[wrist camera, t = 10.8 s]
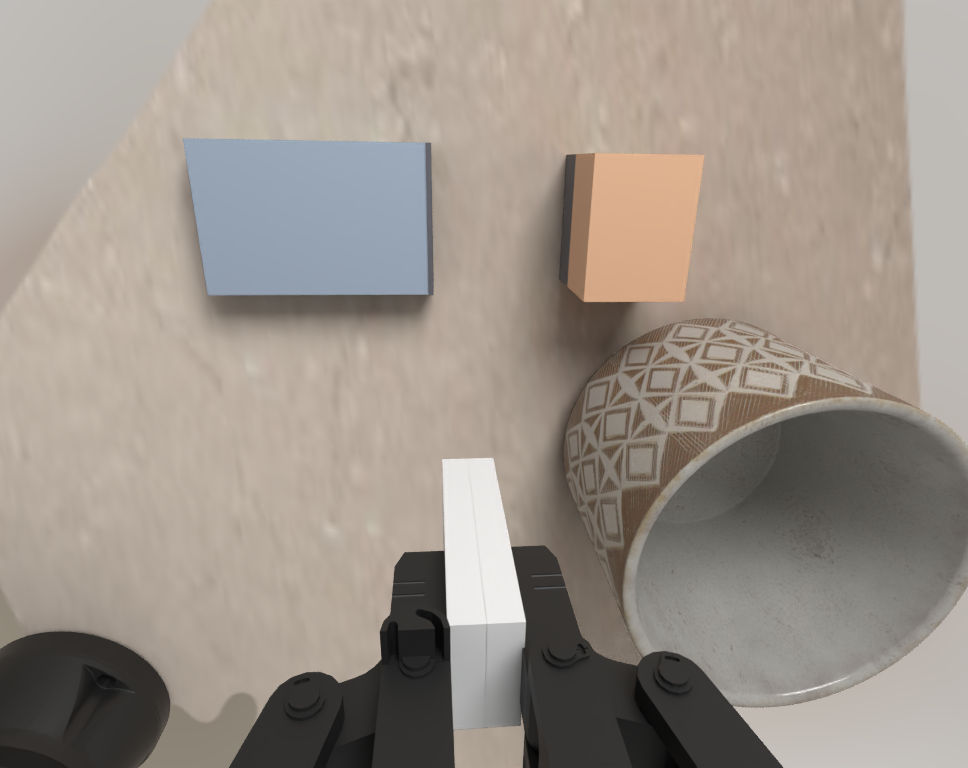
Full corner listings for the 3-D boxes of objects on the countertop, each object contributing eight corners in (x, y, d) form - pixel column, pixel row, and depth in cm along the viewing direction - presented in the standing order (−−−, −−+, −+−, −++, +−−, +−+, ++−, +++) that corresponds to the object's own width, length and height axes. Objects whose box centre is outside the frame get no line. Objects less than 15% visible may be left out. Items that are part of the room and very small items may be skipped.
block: (559, 279, 40) (583, 301, 33) (566, 154, 37) (595, 153, 31) (643, 279, 40) (684, 301, 34) (657, 156, 38) (704, 155, 31)
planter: (578, 558, 49) (645, 740, 33) (537, 346, 42) (598, 452, 26) (802, 506, 49) (971, 664, 33) (798, 284, 42) (1011, 355, 26)
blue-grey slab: (221, 287, 38) (207, 295, 36) (199, 140, 35) (182, 138, 33) (433, 286, 39) (433, 294, 37) (430, 144, 36) (430, 142, 34)
